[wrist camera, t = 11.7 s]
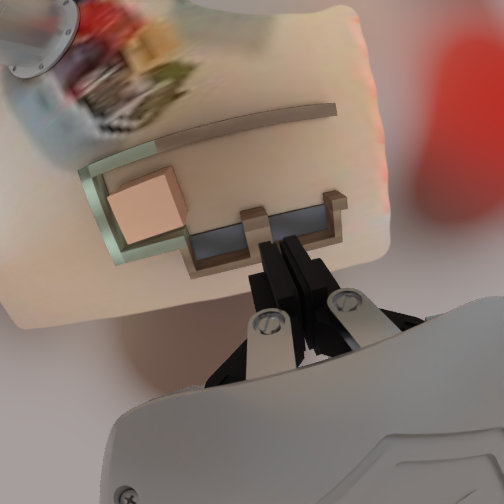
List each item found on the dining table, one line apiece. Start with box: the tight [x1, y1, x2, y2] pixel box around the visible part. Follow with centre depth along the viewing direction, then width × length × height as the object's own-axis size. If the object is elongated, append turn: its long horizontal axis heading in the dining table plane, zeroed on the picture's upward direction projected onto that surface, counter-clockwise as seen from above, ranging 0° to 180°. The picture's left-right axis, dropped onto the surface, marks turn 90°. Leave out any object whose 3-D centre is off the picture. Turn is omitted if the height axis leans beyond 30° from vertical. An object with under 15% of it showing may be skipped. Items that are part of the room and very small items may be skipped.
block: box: [107, 166, 188, 245], centre depth 30 cm, size 6×7×5 cm
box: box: [78, 103, 348, 279], centre depth 32 cm, size 18×30×3 cm, turn 102°
